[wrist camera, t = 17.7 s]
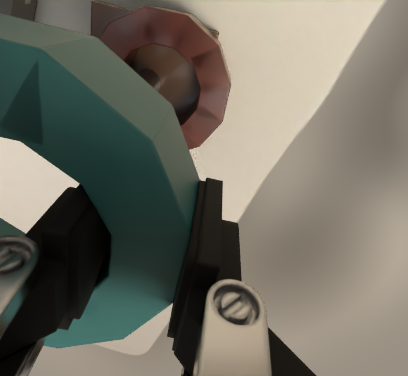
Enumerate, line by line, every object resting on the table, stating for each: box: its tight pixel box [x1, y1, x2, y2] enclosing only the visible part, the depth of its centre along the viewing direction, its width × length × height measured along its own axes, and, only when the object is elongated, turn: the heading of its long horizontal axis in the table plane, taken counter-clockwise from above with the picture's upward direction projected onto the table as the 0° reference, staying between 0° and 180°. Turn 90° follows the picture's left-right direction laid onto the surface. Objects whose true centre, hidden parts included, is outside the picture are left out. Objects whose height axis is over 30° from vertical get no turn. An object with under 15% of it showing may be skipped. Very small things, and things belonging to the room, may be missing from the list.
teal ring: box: [0, 13, 200, 348], centre depth 9 cm, size 10×10×3 cm
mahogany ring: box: [99, 6, 231, 150], centre depth 22 cm, size 10×10×3 cm
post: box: [91, 1, 219, 116], centre depth 19 cm, size 9×9×13 cm
